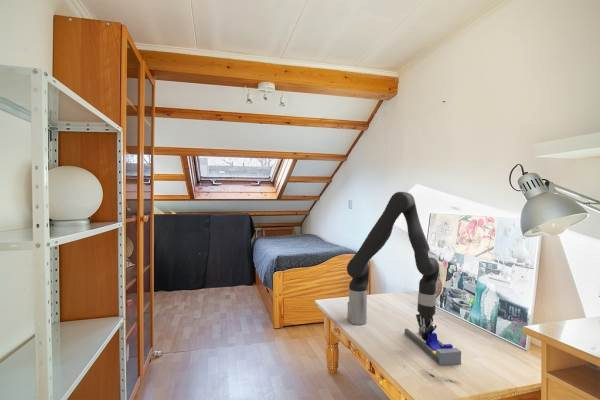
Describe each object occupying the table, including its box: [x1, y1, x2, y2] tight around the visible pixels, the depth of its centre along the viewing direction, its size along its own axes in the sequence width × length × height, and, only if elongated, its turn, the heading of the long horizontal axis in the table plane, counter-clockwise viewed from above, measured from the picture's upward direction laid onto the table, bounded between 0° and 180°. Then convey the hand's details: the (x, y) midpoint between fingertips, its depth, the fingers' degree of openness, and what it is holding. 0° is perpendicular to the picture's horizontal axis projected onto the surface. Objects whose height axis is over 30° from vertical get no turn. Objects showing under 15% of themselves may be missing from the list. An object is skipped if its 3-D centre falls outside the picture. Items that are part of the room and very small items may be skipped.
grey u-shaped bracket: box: [404, 327, 462, 367], centre depth 136 cm, size 9×28×5 cm, turn 10°
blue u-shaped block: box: [424, 332, 454, 351], centre depth 132 cm, size 12×4×6 cm, turn 10°
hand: (425, 339), depth 141 cm, fingers closed
